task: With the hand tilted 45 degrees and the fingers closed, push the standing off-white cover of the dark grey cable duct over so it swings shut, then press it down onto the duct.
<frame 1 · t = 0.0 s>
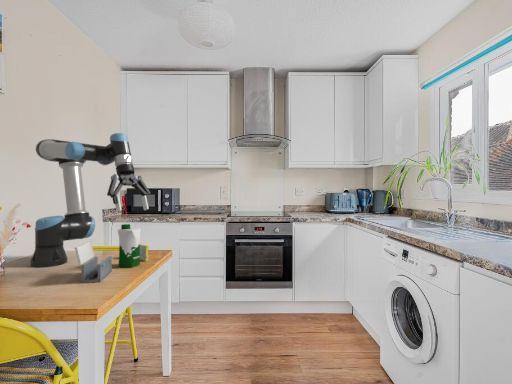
hand: (133, 210, 135), 28 cm above the table, tool tilted 20°, fingers open, 13 cm apart
duct: (97, 276, 128), on the table
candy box: (137, 260, 161), on the table
milk carton: (129, 266, 147), on the table
cover: (84, 252, 127), point 11 cm above the table, hinge at 103.0°
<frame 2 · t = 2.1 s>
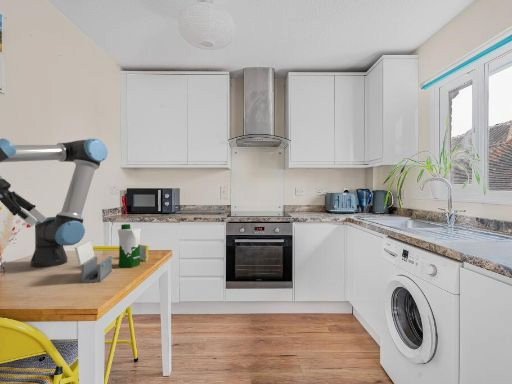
hand: (39, 222, 122), 24 cm above the table, tool tilted 45°, fingers open, 13 cm apart
nothing on the table moved.
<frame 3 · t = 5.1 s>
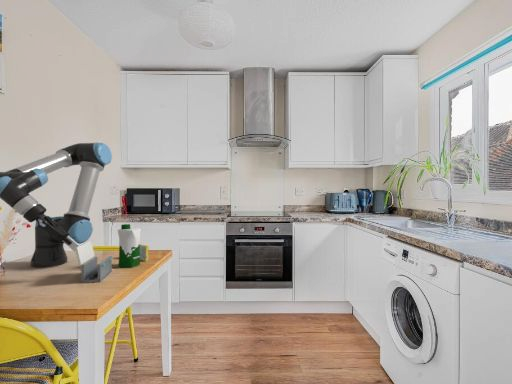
hand: (77, 248, 126), 12 cm above the table, tool tilted 45°, fingers closed
cover: (84, 252, 127), point 11 cm above the table, hinge at 102.9°, touching gripper
everything else where it was.
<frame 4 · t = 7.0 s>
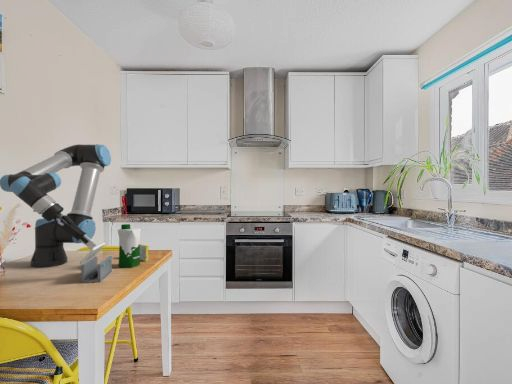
hand: (94, 247, 129), 12 cm above the table, tool tilted 45°, fingers closed
cover: (93, 252, 128), point 10 cm above the table, hinge at 50.0°, touching gripper
everything else where it was.
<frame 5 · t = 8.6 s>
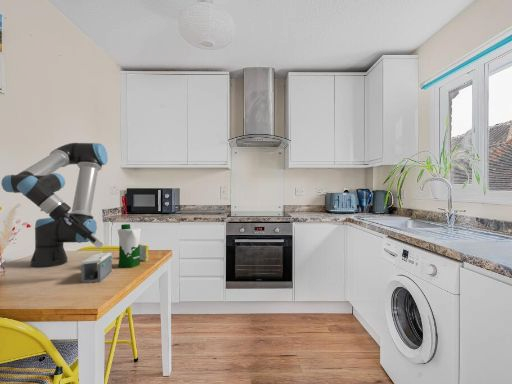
hand: (101, 246, 129), 13 cm above the table, tool tilted 45°, fingers closed
cover: (97, 257, 128), point 8 cm above the table, hinge at 5.1°
everything else where it was.
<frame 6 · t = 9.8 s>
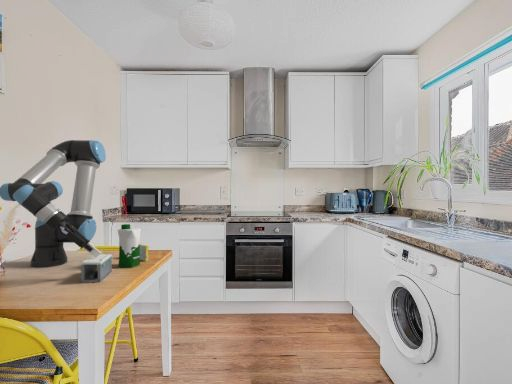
hand: (98, 255, 128), 9 cm above the table, tool tilted 45°, fingers closed
cover: (97, 258, 128), point 8 cm above the table, hinge at -2.6°, touching duct, gripper
everything else where it was.
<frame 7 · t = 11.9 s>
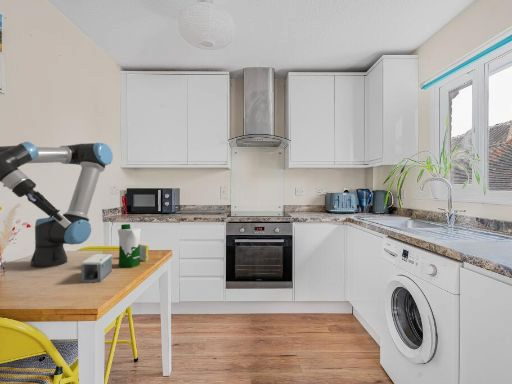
hand: (68, 225, 125), 22 cm above the table, tool tilted 45°, fingers closed
cover: (97, 258, 128), point 8 cm above the table, hinge at -2.5°, touching duct
everything else where it was.
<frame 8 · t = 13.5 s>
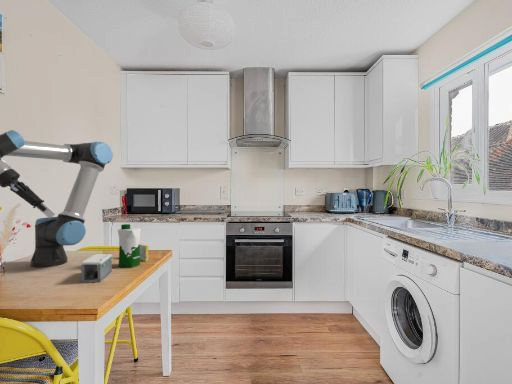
hand: (52, 215, 124), 26 cm above the table, tool tilted 45°, fingers closed
nothing on the table moved.
at the end: cover at -2° (first picture: +103°) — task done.
